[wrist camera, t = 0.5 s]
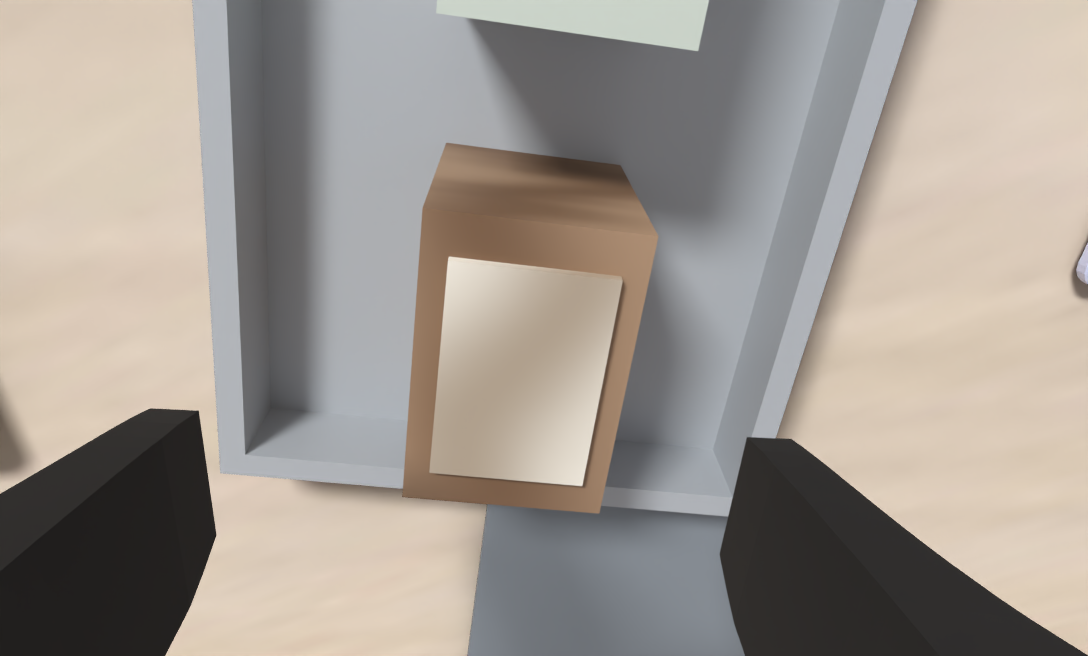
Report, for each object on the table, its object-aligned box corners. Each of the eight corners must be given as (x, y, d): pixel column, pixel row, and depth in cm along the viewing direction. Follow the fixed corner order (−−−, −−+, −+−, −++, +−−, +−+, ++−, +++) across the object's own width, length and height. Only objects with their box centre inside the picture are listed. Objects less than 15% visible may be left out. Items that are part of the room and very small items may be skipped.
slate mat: (823, 508, 22) (830, 520, 22) (740, 730, 27) (744, 743, 26) (490, 479, 22) (490, 490, 21) (459, 714, 26) (458, 727, 25)
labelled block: (620, 165, 17) (660, 240, 13) (579, 388, 20) (599, 519, 15) (446, 142, 17) (421, 211, 12) (427, 373, 20) (400, 503, 15)
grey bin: (985, -426, 13) (1080, -504, 11) (724, 460, 22) (749, 518, 19) (217, -590, 12) (149, -715, 10) (252, 416, 20) (220, 473, 18)
